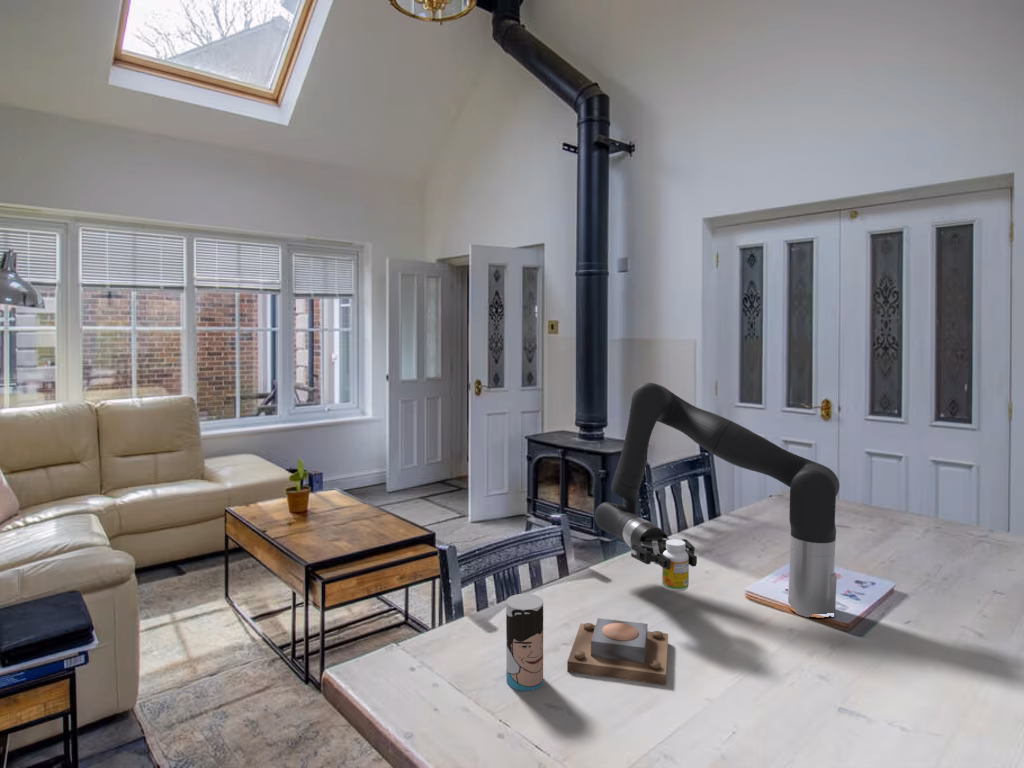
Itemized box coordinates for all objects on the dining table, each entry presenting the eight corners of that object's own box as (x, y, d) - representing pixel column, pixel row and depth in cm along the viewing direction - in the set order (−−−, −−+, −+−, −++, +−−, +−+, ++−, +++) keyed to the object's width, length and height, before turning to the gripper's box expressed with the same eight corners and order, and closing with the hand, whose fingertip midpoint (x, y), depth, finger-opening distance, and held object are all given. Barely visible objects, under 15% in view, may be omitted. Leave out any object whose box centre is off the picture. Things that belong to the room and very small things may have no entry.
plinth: (667, 643, 130) (668, 618, 130) (665, 685, 115) (666, 657, 114) (580, 632, 135) (580, 608, 134) (567, 671, 119) (567, 644, 119)
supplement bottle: (658, 582, 137) (659, 538, 136) (683, 581, 138) (683, 537, 137) (667, 592, 132) (667, 547, 131) (692, 591, 132) (692, 545, 131)
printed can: (510, 693, 112) (510, 611, 111) (502, 673, 119) (502, 595, 118) (547, 688, 114) (547, 607, 113) (537, 668, 120) (537, 592, 119)
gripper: (616, 524, 146) (650, 549, 130) (672, 519, 150) (712, 542, 133) (616, 556, 147) (650, 584, 130) (672, 550, 150) (712, 577, 134)
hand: (681, 563), depth 132 cm, fingers closed on supplement bottle, 5 cm apart
